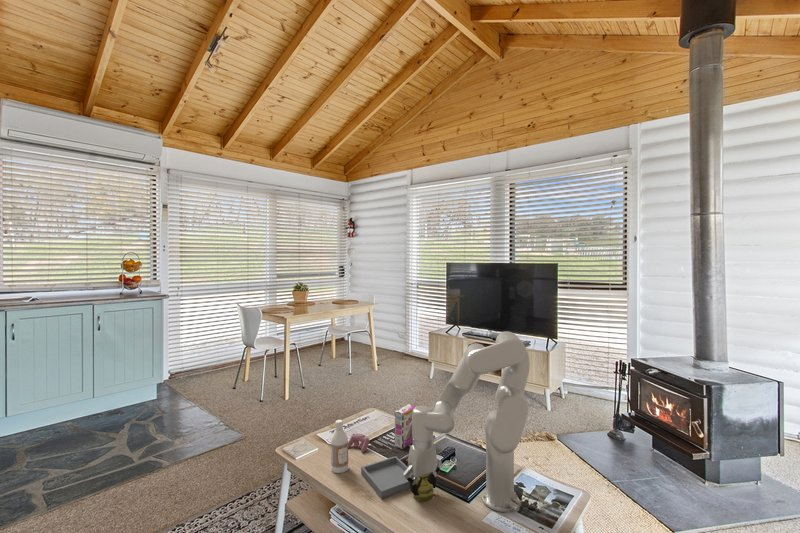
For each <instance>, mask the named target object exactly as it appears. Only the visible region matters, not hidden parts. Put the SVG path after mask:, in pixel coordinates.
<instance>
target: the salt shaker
mask: <svg viewBox="0 0 800 533" xmlns="http://www.w3.org/2000/svg"><path fill="white" fill-rule="evenodd" d="M429 475H430V473H428V474H425V475H423V476H420V477H419V478H418V479H417V481H416V484H417V495H416V496H415V495H414V494H413V493H412V494H413V498H414V499H415V501H417V502H420V503H427V502H430V501H431V500H433V498H434V488H433V483H432V481H431V480H429Z"/></svg>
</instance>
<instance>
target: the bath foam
mask: <svg viewBox="0 0 800 533" xmlns="http://www.w3.org/2000/svg"><path fill="white" fill-rule="evenodd" d="M334 424H335V427H334V428H335V430H334V431H333V433H332V435H331V437H330V464H331V465H330V466H331V467H330V469H331V472H333V473H335V474H342V473H345V472H347V471H348V469H349V448H348V442H349V440H348V439H349V438H348V435H347V433H346V432H345V430H344V427H343V420H342V419H337V420H335V423H334Z"/></svg>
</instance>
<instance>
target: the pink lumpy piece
mask: <svg viewBox="0 0 800 533" xmlns="http://www.w3.org/2000/svg"><path fill="white" fill-rule="evenodd" d="M369 444H370V438H368V437H367V436H366V435H365V434H363V433H353V435H351V436H350V438H349V440H348V449H349V448H351V447H352V445H353V446H354V447H356V448H358V447H359V448H360V449H361V453H362V454H364V453H365V452H366V451H367V448H368V447H369Z"/></svg>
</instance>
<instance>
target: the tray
mask: <svg viewBox="0 0 800 533" xmlns="http://www.w3.org/2000/svg"><path fill="white" fill-rule="evenodd" d="M407 468H408V465H406V464H405V463H404V461H402V460H401V459H400V458H398V456H396V455H395V456H391V457H389V458H385V459H381V460H379V461H376V462H373V463H369V464H366V465H363V466H361V467H360V474H361V477H363V479H364V480H365V481H366V483H368V485H369V486H370V487H371V488H372V490H373V491H374V492H375V493H376V494H377V496H378V497H379V498H380V500H384V499H387V498H390V497H392V496H394V495H397V494H401V493H402V492H406V491H408V490H410V482H409V481H408V480H407V479H406V478H405V477H404V476H403V473H404V472H405V471H406V469H407ZM411 473H412V472H411ZM411 473H410V474H409V477H410V475H411ZM418 478H420V477H418ZM418 478H417V479H418ZM413 479H414V477H413Z"/></svg>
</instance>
